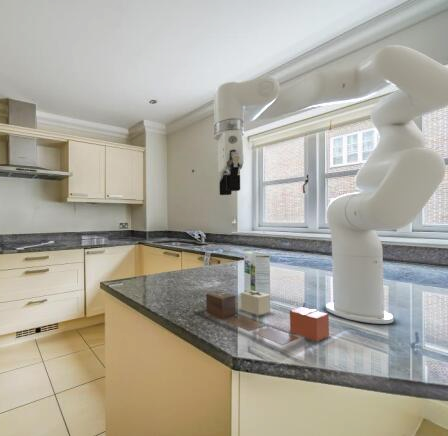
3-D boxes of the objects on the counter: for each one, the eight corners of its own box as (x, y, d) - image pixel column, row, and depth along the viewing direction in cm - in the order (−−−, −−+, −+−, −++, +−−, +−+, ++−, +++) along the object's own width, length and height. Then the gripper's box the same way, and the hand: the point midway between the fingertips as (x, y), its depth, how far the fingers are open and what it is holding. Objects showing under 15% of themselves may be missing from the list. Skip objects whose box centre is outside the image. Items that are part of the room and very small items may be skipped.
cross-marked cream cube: (252, 307, 70) (252, 289, 70) (270, 313, 65) (270, 294, 65) (241, 311, 67) (240, 292, 68) (258, 317, 63) (258, 297, 63)
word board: (220, 307, 70) (220, 306, 70) (308, 340, 51) (308, 337, 51) (196, 313, 66) (196, 311, 66) (283, 351, 46) (283, 349, 46)
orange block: (303, 328, 56) (302, 306, 56) (329, 337, 52) (329, 313, 52) (289, 333, 54) (288, 310, 54) (316, 343, 49) (315, 318, 49)
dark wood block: (219, 309, 68) (219, 290, 68) (235, 315, 63) (235, 295, 63) (206, 312, 65) (206, 293, 65) (222, 318, 61) (221, 298, 61)
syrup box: (243, 294, 83) (242, 251, 83) (261, 294, 82) (260, 251, 83) (252, 299, 77) (251, 253, 77) (271, 299, 77) (270, 253, 77)
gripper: (253, 117, 59) (253, 188, 59) (235, 140, 76) (236, 195, 75) (219, 119, 60) (220, 189, 60) (209, 142, 77) (210, 196, 77)
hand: (229, 192), depth 68 cm, fingers open, 9 cm apart
